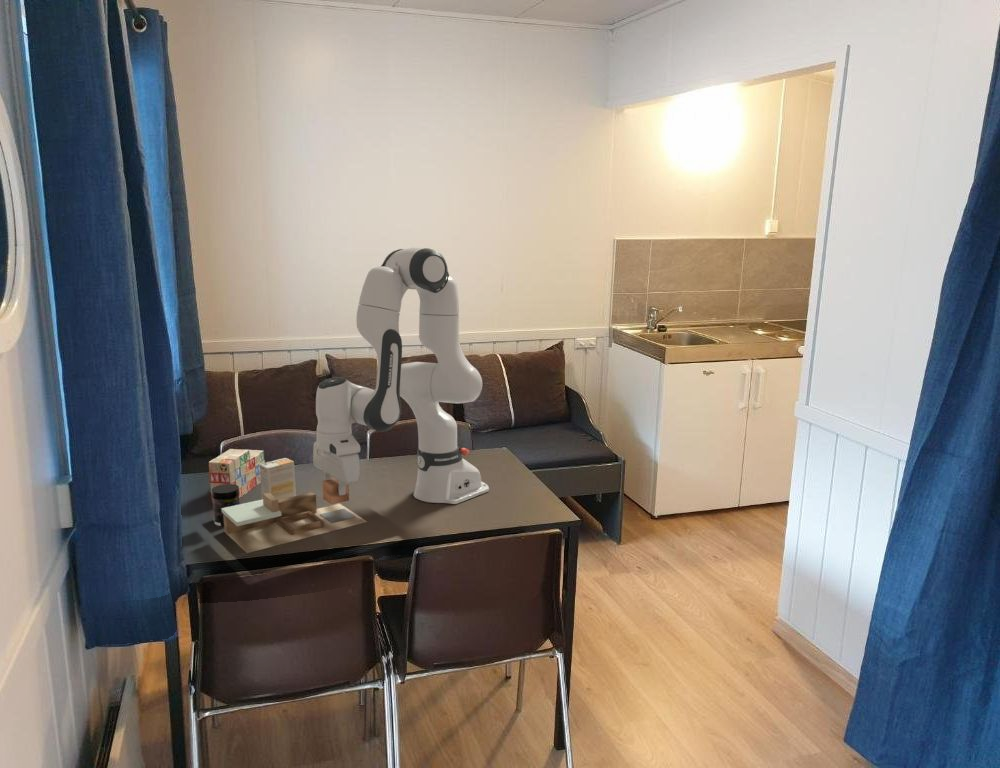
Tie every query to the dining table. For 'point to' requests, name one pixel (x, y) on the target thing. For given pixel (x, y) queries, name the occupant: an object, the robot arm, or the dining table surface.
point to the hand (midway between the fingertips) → (335, 491)
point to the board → (291, 523)
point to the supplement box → (278, 478)
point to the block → (334, 492)
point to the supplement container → (224, 500)
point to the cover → (253, 510)
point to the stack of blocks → (236, 469)
